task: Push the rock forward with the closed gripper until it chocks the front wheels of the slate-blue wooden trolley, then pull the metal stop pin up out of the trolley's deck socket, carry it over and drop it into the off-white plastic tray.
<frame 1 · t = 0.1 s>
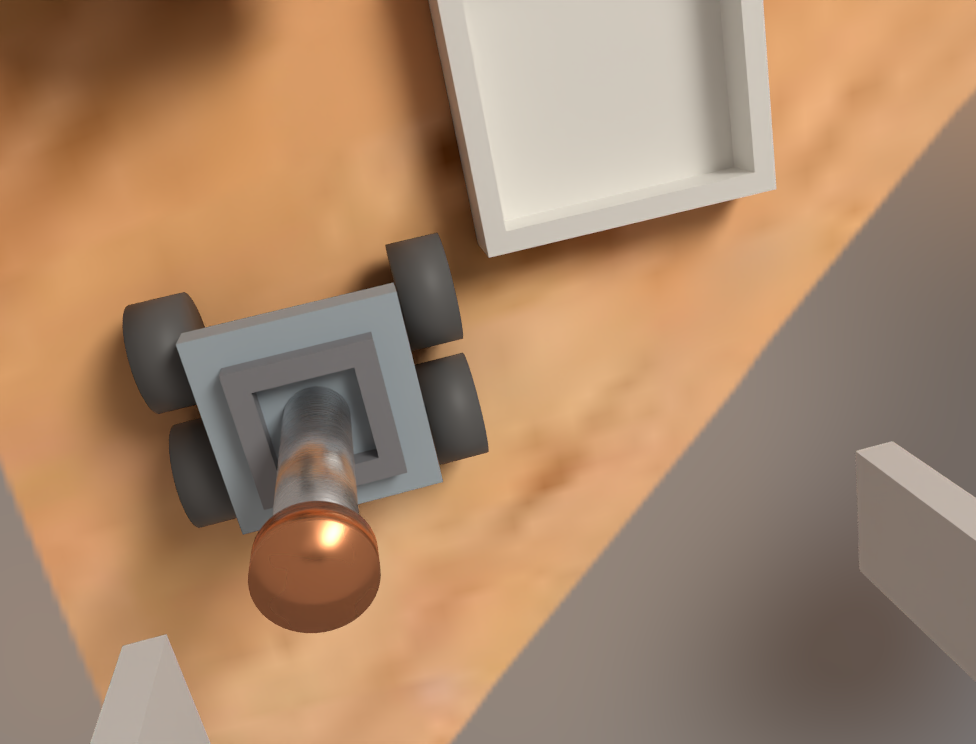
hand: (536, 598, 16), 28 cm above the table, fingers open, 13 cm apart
tray: (593, 64, 40), on the table
pin: (317, 417, 37), point 7 cm above the table, touching trolley
trolley: (317, 364, 43), on the table
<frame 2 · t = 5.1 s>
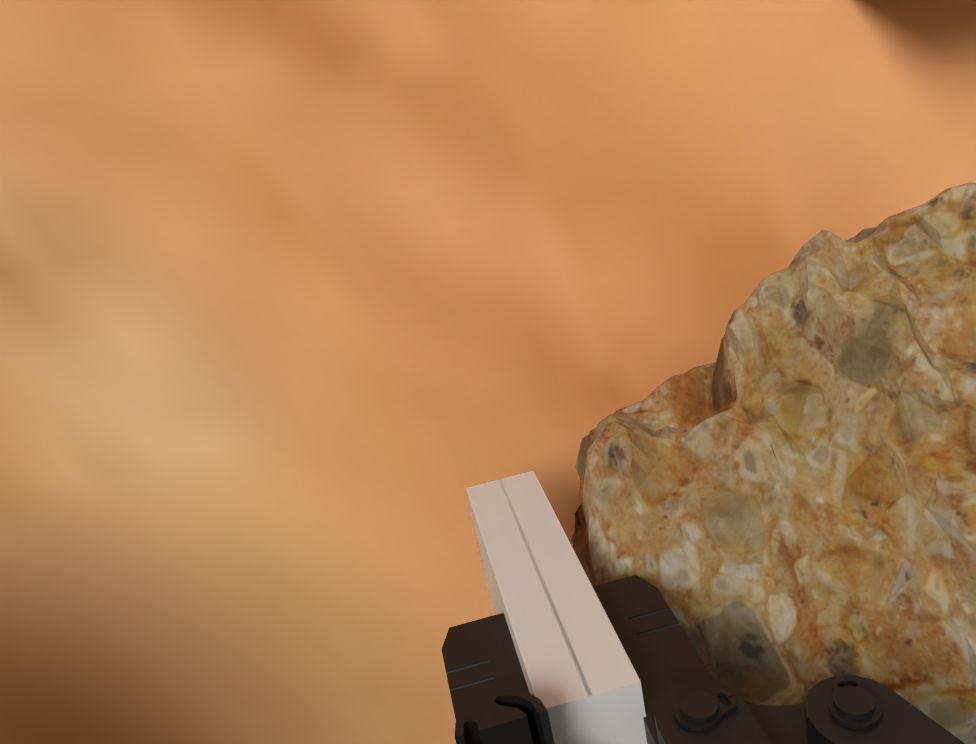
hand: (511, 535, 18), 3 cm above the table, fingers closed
rock: (728, 395, 22), on the table, touching gripper
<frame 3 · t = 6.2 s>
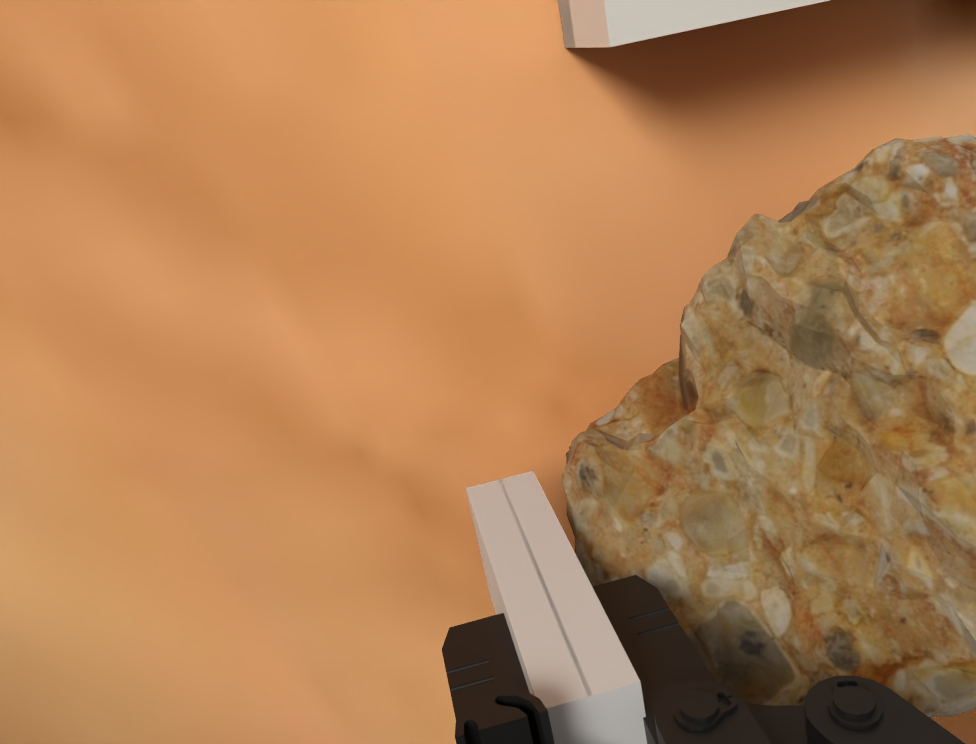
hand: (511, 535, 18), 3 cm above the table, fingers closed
rock: (714, 376, 22), on the table, touching gripper
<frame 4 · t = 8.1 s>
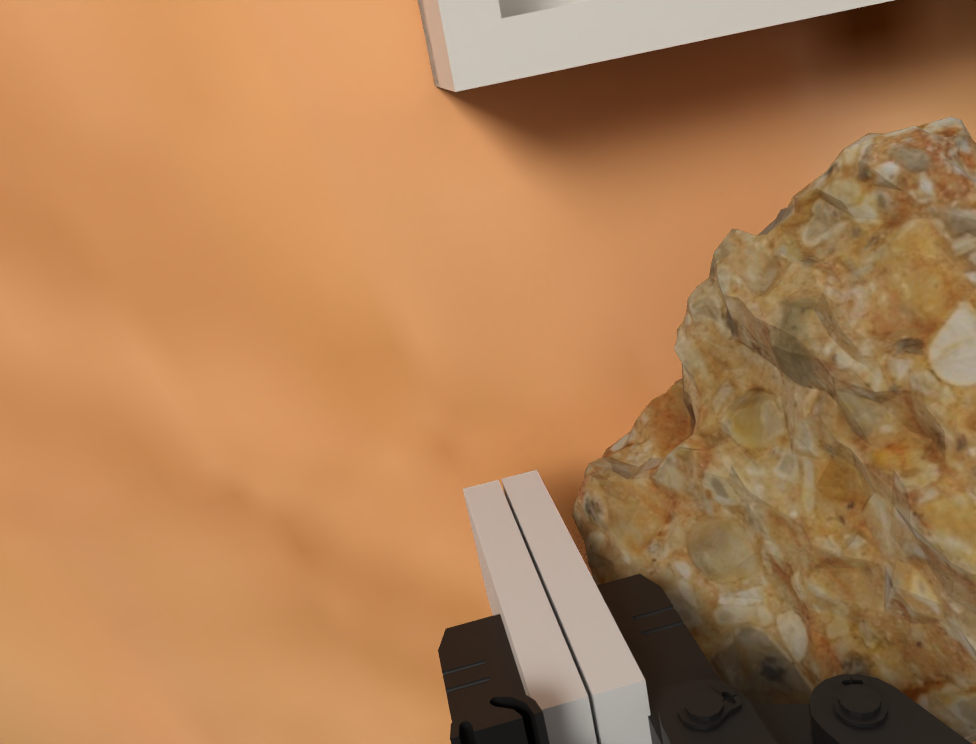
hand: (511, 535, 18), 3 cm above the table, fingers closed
rock: (750, 378, 21), on the table, touching gripper
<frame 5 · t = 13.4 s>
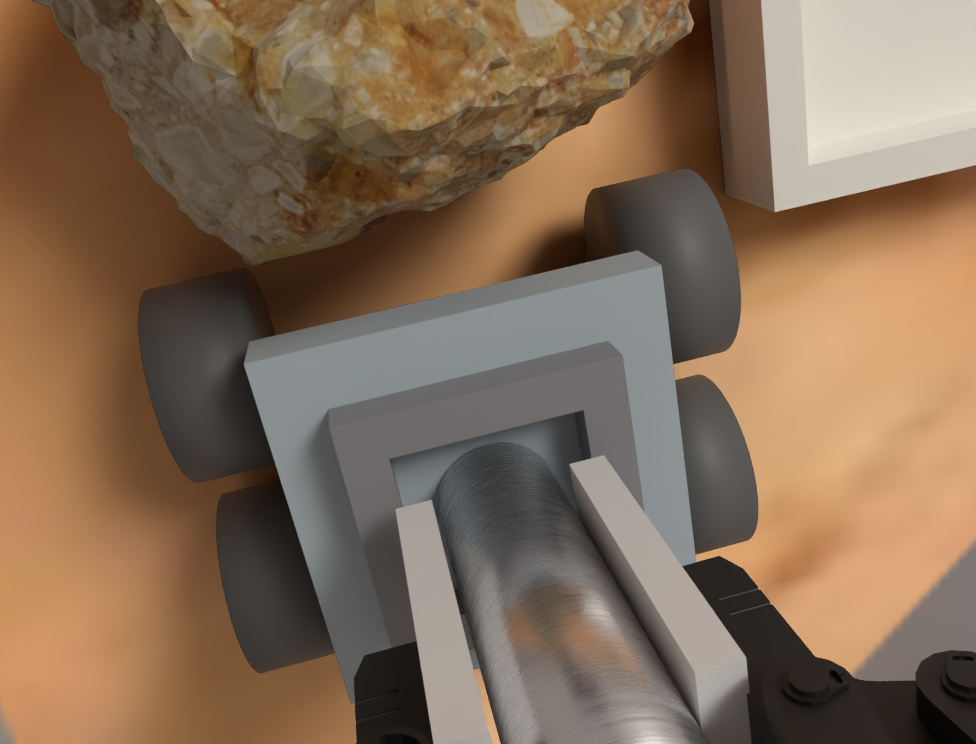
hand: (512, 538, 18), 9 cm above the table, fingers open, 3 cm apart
pin: (497, 498, 20), point 7 cm above the table, touching gripper, trolley
trolley: (454, 391, 26), on the table
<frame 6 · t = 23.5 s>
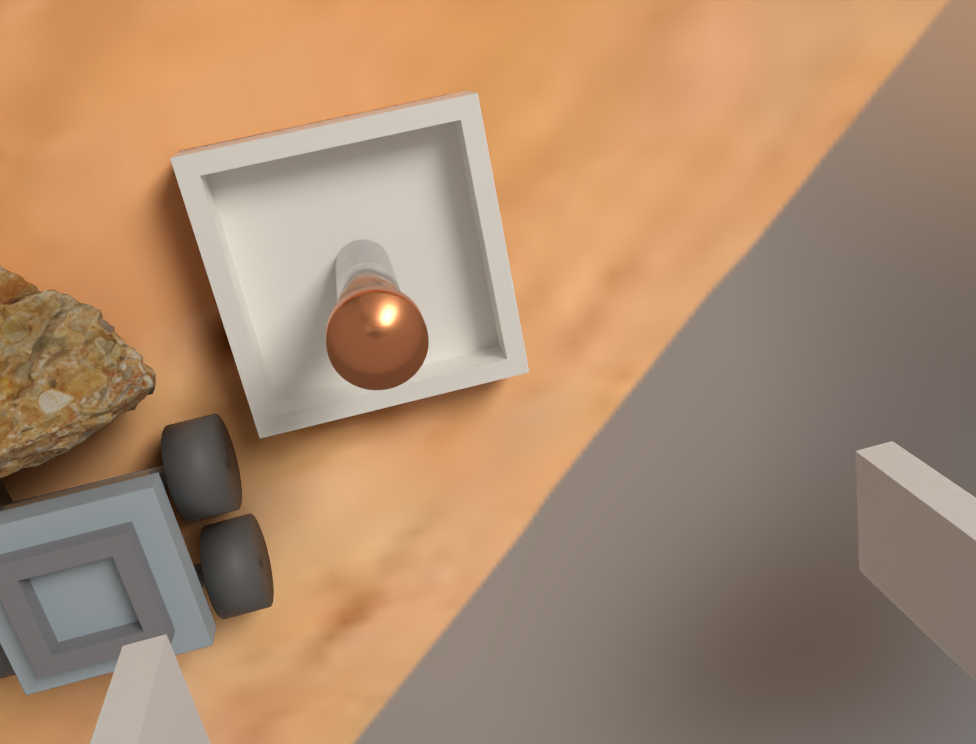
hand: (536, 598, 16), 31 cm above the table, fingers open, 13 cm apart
tray: (361, 259, 44), on the table
rock: (53, 312, 42), on the table
pin: (363, 266, 44), point 1 cm above the table, touching tray
trolley: (118, 522, 47), on the table
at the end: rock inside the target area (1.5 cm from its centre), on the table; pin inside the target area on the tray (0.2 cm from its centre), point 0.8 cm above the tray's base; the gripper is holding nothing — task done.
